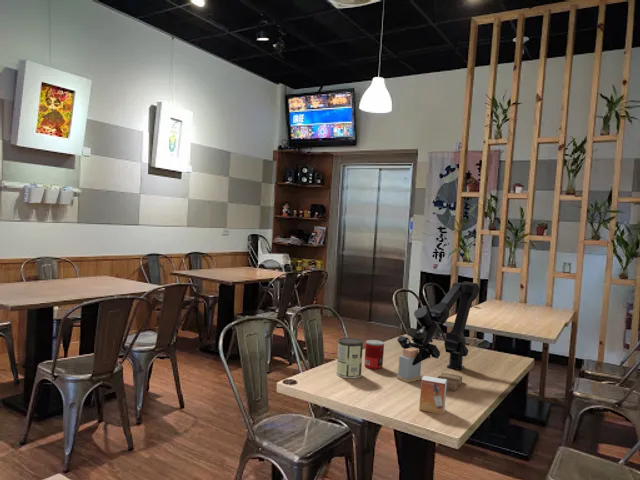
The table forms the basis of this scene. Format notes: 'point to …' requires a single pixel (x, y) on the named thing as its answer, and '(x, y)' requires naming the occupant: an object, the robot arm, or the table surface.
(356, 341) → the coffee can
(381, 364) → the canned food
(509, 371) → the table surface
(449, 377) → the dock
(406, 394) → the table surface
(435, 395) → the small box
